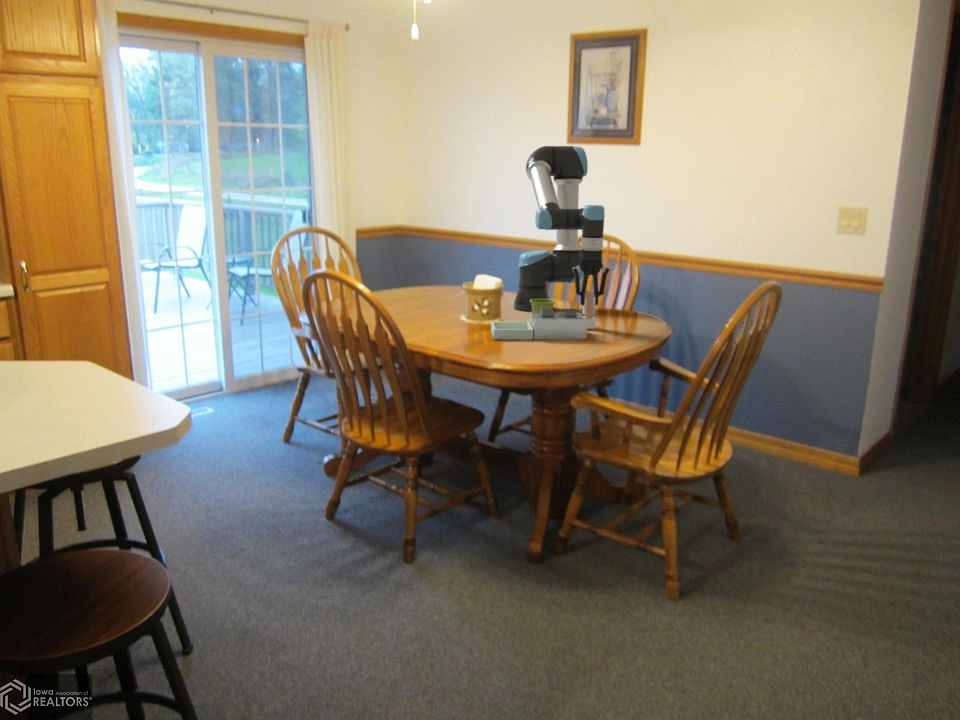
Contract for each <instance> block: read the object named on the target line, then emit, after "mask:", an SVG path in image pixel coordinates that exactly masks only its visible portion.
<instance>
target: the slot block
mask: <svg viewBox="0 0 960 720" xmlns="http://www.w3.org/2000/svg"><path fill="white" fill-rule="evenodd" d="M583 315H584V314H583V312H579V311H577V318H574V317H563V311H562V312H560V311H559V312H555V311H554V317H541V312H532V311H530V321H529V323H530V325H531V326H532V328H533V340H587V332H588V329H587V318H582V317H583Z"/></svg>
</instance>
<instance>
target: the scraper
mask: <svg viewBox="0 0 960 720" xmlns="http://www.w3.org/2000/svg"><path fill="white" fill-rule="evenodd" d="M585 296H586V297H587V307H586V315H584V316H582V318H587V330H595V329H596V318H595V317H594V315H593V296H594V289H593V290H592V289H591V290H589V289H586V293H585Z"/></svg>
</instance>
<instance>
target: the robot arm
mask: <svg viewBox="0 0 960 720" xmlns="http://www.w3.org/2000/svg"><path fill="white" fill-rule="evenodd" d="M588 169H589V168H588V158H587V154H586V151H585V149H584V148H583V147H581V146H575V145H564V146H563V145H544V146H540V147H539V148H537V149H535V150H534V151H533V152H532V153H531V154H530V155H529V157H528V159H527V161H526V164H525V172H526V175H527V177H528V179H529V180H530V181H531V184H532V188H533V191H534V197H535V199H536V203H537V206H538V209H537V210H536V211H535V217H534V218H535V219H534V220H535V221H534V222H535V226H536V228H537V229H538V230H546V231H550V230H551V231H553V230H555V231H556V243H555V244H556V245H555V246H554V248H553V249H552V253H549V251H548V250H547V249H546V250H545V249H543V250H540V249H539V250H538V249H537V250H531V251H525V252H523V253H521V254H520V256H519V261H518V290H517V293H516V296H515V299H514V301H513V309H515V310H518V311H521V312H532V306H531V302H530V300H531V299H550V296H549V293H548V284H549V283H550V284H552V283H553V284H556V283H557V284H560V283H561V284H563V283H565V284H567V283H568V284H571V283H574V284H575V285H574V287H575V293H576V295H578V296H580V305H581V306H582V314H583V315H584V316H585V315H586V307H587V297H586V290H587V287H588V279H589V276H592V283H593V291H594V296H593V316H594V315H595V314H596V313H595V312H596V306H598V305H599V297H600V296H603V295H604V294H605V289H606V288H605V287H606V282H607V278H608V277H607V276H608V274H609V272H610V268H609V267H607V266H604V264H603V250H602V249H603V248H604V247H603V246H604V244H603V243H604V228H605V227H604V226H605V207H604V206H603V205H601V204H586V205H584V206H583V207H581V208H579V193H580V192H579V191H580V190H579V187H580V184H581V183H582V182H583V178H584V177H587V174H588ZM552 177H553V180H552ZM553 182H554V183H555V184H556V188H557V189H556V190H555V187H554V184H553ZM580 230H581V244H580V246H581V247H580V246H579V245H578V244H579V243H578V241H579V237H578V236H579V231H580ZM600 271H601V272H602V275H601V279H600V285H599V281H598V274H599V273H600ZM581 281H582V284H580V282H581ZM580 285H581V286H580Z"/></svg>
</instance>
